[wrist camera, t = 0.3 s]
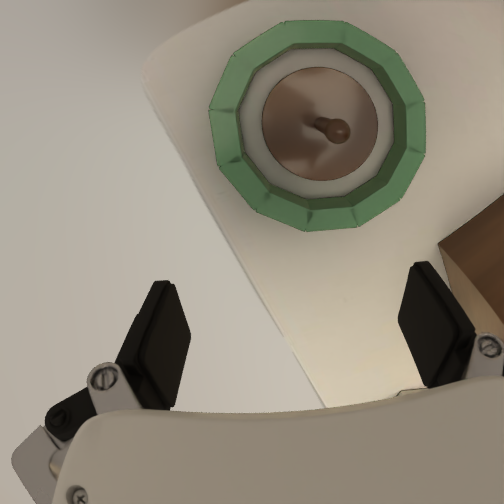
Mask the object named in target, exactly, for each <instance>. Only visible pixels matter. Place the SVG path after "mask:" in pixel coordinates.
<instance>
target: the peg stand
mask: <svg viewBox="0 0 504 504" xmlns="http://www.w3.org/2000/svg"><path fill="white" fill-rule="evenodd" d="M262 130H263V135H264V138H265V141H266V144H267V146H268V148H269V150H270V152H271V153H272V155H273V156H274V158H275V159H276V160H277V161H278V162H279V163H280V164H281V165H282V166H283V167H284V168H286V169H287V170H289V171H290V172H292V173H294V174H296V175H298V176H300V177H303V178H306V179H310V180H318V181H326V180H334V179H337V178H341V177H343V176H346V175H348V174H350V173H351V172H353V171H355V170H356V169H357V168H359V167H360V166H361V165H362V164H363V163H364V162H365V160H366V159H367V158H368V156H369V155H370V153H371V152H372V149H373V147H374V145H375V142H376V138H377V132H378V121H377V114H376V110H375V107H374V104H373V102H372V100H371V98H370V96H369V95H368V93H367V92H366V91H365V89H364V88H363V87H362V86H361V85H360V84H359V83H358V82H357V81H355V80H354V79H353V78H351V77H350V76H348V75H347V74H344V73H342V72H340V71H337V70H334V69H330V68H325V67H312V68H306V69H301V70H298V71H296V72H293V73H291V74H290V75H288V76H286V77H285V78H284V79H282V80H281V81H280V82H279V83H278V84H277V85H276V86H275V87H274V88H273V90H272V91H271V92H270V94H269V96H268V98H267V100H266V102H265V105H264V109H263V113H262Z"/></svg>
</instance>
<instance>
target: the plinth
mask: <svg viewBox="0 0 504 504" xmlns="http://www.w3.org/2000/svg"><path fill="white" fill-rule="evenodd" d="M438 246H439V249H440V252H441V255H442V259H443V262H444V265H445V268H446V272H447V275H448V279H449V283H450V287H451V290H452V294H453V295H454V297H455V298H456V299H457V301H458V302H459V304H460V305H461V307H462V308H463V310H464V311H465V313H466V314H467V316H468V318H469V319H470V321H471V322H472V324H473V325H474V327H475V329H476V330H475V332H476V334H477V335H478V334H479V333H482V332H489V333H493V334H495V335H496V336H498V337H499V338H500V339H501V341H502V342H503V344H504V194H503V195H502V196H501V197H500V198H498V199H497V200H496V201H495V202H494V203H492V204H491V205H490V206H488V207H487V208H486V209H485V210H483V211H482V212H481V213H479V214H478V215H477V216H475V217H474V218H473V219H472V220H470V221H469V222H468V223H466V224H465V225H463V226H462V227H461V228H459V229H458V230H457V231H455V232H454V233H452V234H451V235H450V236H448V237H447V238H445V239H444V240H442V241H441V242H440V243H438Z"/></svg>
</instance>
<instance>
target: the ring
mask: <svg viewBox="0 0 504 504" xmlns="http://www.w3.org/2000/svg"><path fill="white" fill-rule="evenodd" d="M306 48H334V49H336V50H338V51H340V52H342V53H344V54H346V55H348V56H350V57H351V58H353V59H355V60H357V61H358V62H360V63H362V64H364V65H365V66H367V67H369V68H370V69H372V71H373V72H374V74H375V75H376V77H377V78H378V80H379V82H380V83H381V85H382V86H383V88H384V90H385V91H386V93H387V95H388V96H389V98H390V100H391V102H392V103H393V114H394V144H393V146H392V148H391V150H390V152H389V154H388V156H387V157H386V159H385V161H384V163H383V165H382V167H381V169H380V171H379V172H378V174H377V176H376V177H374V178H373V179H371V180H370V181H368V182H367V183H365V184H363V185H362V186H360V187H359V188H357V189H356V190H354V191H353V192H351V193H349V194H348V195H346V196H345V197H333V198H320V199H308V200H306V199H304V198H302V197H300V196H297V195H295V194H293V193H290V192H288V191H286V190H283V189H281V188H279V187H276V186H274V185H272V184H269V182H268V181H267V180H266V179H265V177H264V176H263V175H262V173H261V172H260V171H259V170H258V168H257V167H256V166H255V165H254V163H253V162H252V161H251V160H250V158H249V157H248V156H247V155H246V153H245V152H244V148H243V141H242V134H241V127H240V120H239V113H238V110H239V107H240V105H241V103H242V100H243V98H244V96H245V94H246V91H247V89H248V87H249V85H250V82H251V80H252V78H253V76H254V74H255V72H256V71H258V70H259V69H261V68H262V67H264V66H265V65H267V64H268V63H270V62H271V61H273V60H274V59H276V58H277V57H279V56H281V55H282V54H284V53H285V52H287V51H289V50H290V49H306ZM395 52H396V51H395V50H393V49H392V48H390V47H389V46H387V45H386V44H384V43H382V42H381V41H379V40H377V39H376V38H374V37H373V36H371V35H369V34H367V33H366V32H364V31H362V30H360V29H359V28H357V27H355V26H353V25H351V24H349V23H348V22H345V23H344V21H329V20H300V21H285V22H284V23H283V22H281V23H279V24H278V25H276V26H274V27H273V28H271V29H269V30H268V31H266V32H264V33H263V34H261V35H260V36H258V37H257V38H255V39H253V40H252V41H250V42H249V43H247V44H246V45H244V46H243V47H241V48H240V49H239V50H237V51H236V52H234V53H233V55H234V56H233V55H232V56H231V57H230V59H229V62H228V64H227V66H226V68H225V70H224V73H223V75H222V77H221V80H220V82H219V84H218V87H217V89H216V91H215V94H214V96H213V99H212V101H211V103H210V106H209V108H210V109H211V110H209V118H210V124H211V130H212V136H213V142H214V148H215V154H216V160H217V165H218V166H220V167H219V169H220V170H221V172H222V173H223V174H224V175H225V176H226V178H227V179H228V180H229V181H230V182H231V184H232V185H233V186H234V187H235V188H236V190H237V191H238V192H239V193H240V194H241V196H242V197H243V198H244V199H245V200H246V202H247V203H248V204H249V205H250V207H251V208H252V209H253V210H255V209H256V212H257V213H260V214H262V215H265V216H267V217H270V218H272V219H275V220H277V221H280V222H282V223H284V224H287V225H289V226H292V227H294V228H297V229H299V230H301V231H304V232H305V230H306V232H311V231H322V230H333V229H344V228H355V227H357V225H358V227H360V226H361V225H363V224H364V223H366V222H367V221H369V220H371V219H372V218H374V217H375V216H377V215H378V214H380V213H381V212H383V211H384V210H386V209H388V208H389V207H391V206H392V205H394V204H395V203H397V202H398V201H400V198H401V199H402V197H403V195H404V194H405V192H406V190H407V188H408V186H409V185H410V183H411V181H412V179H413V177H414V176H415V174H416V172H417V170H418V168H419V166H420V164H421V163H422V161H423V159H424V157H425V155H424V154H425V153H426V116H425V102H423V101H424V98H423V96H422V94H421V92H420V91H419V89H418V87H417V85H416V83H415V81H414V80H413V78H412V76H411V74H410V73H409V71H408V69H407V68H406V66H405V64H404V63H403V61H402V59H401V58H400V56H399V55H398V53H395Z"/></svg>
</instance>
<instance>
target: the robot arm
mask: <svg viewBox="0 0 504 504" xmlns="http://www.w3.org/2000/svg"><path fill="white" fill-rule="evenodd" d="M398 323H399V326H400V328H401V330H402V333H403V335H404V337H405V340H406V342H407V344H408V347H409V349H410V351H411V354H412V356H413V359H414V361H415V364H416V366H417V369H418V371H419V374H420V376H421V379H422V382H423V384H424V386H426V387H428V389H427V390H423V391H419V392H415V393H411V394H407V395H402V396H398V397H393V398H388V399H383V400H378V401H372V402H367V403H361V404H354V405H348V406H340V407H333V408H324V409H315V410H304V411H291V412H274V413H202V412H201V413H200V412H181V411H170V407H174V405H175V402H176V398H177V394H178V389H179V385H180V381H181V376H182V373H183V368H184V364H185V360H186V356H187V352H188V348H189V344H190V340H191V333H190V329H189V326H188V323H187V321H186V318H185V315H184V312H183V309H182V306H181V303H180V300H179V296H178V293H177V290H176V287H175V285H174V284H171V283H170V281H168V280H164V281H155V282H154V283H153V285H152V287H151V289H150V291H149V293H148V295H147V297H146V299H145V301H144V303H143V305H142V308H141V309H140V312H139V314H137V315H136V317H135V319H134V321H133V323H132V325H131V327H130V329H129V332H128V334H127V336H126V338H125V340H124V343H123V345H122V347H121V350H120V352H119V354H118V356H117V358H116V361H115V363H111V362H106V363H102V364H99V365H97V366H96V367H94V368H93V369H92V370H91V372H90V373H89V375H88V378H87V387H86V388H84V389H83V390H81V391H79V392H77V393H76V394H74V395H72V396H70V397H68V398H66V399H65V400H63V401H61V402H59V403H57V404H56V405H54V406H53V407H51V408H50V410H49V411H48V412H47V414H46V416H45V426H44V427H42V426H41V425H40V426H39V427H38V428H37V429H36V430H35V431H34V432H33V433H32V434H31V435H30V436H29V437H28V438H27V439H26V440H25V441H24V442H23V443H21V445H20V446H18V447H17V448H16V449H15V451H14V452H13V454H12V458H11V460H12V466H13V468H14V470H15V472H16V473H17V475H18V477H19V478H20V480H21V481H22V483H23V485H24V486H25V488H26V489H27V491H28V492H29V494H30V495H31V497H32V498H33V500H34V501H35V503H36V504H504V344H503V342H502V341H501V339H500V338H499V337H498V336H496V335H495V334H493V333H489V332H482V333H479V334H478V335H477V334H476V332H475V330H476V329H475V327H474V325H473V324H472V322H471V321H470V319H469V318H468V316H467V314H466V313H465V311H464V310H463V308H462V307H461V305H460V304H459V302H458V301H457V299H456V298H455V297H454V295H453V294H452V292H451V291H450V289H449V288H448V287H447V285H446V284H445V282H444V281H443V280H442V278H441V277H440V276H439V274H438V273H437V272H436V270H435V269H434V268H433V266H432V265H431V264H430V263H429V262H428V261H422V262H415V263H414V265H413V266H411V267H410V270H409V275H408V279H407V283H406V287H405V292H404V296H403V299H402V303H401V307H400V311H399V314H398Z"/></svg>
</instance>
